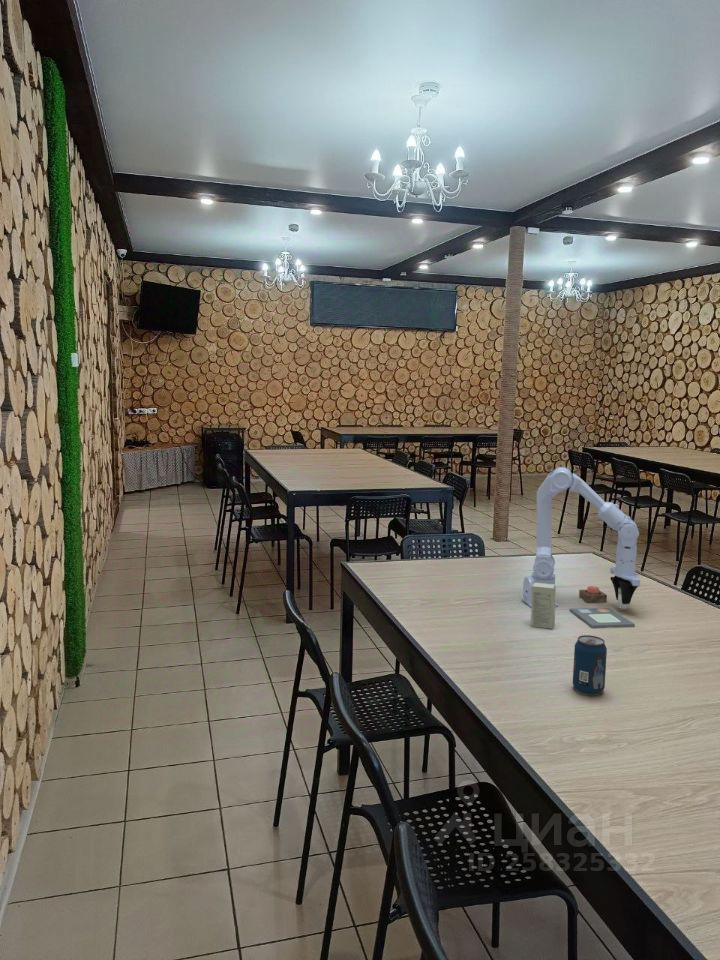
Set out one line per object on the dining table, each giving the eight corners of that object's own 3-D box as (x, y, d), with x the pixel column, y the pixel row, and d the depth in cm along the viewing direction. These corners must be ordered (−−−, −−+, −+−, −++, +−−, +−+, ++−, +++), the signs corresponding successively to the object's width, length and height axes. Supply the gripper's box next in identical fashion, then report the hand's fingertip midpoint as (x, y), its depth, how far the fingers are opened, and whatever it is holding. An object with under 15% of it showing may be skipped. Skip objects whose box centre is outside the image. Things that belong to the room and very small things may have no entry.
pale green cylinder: (620, 609, 207) (621, 590, 206) (615, 605, 210) (616, 587, 209) (630, 608, 208) (631, 590, 207) (624, 605, 211) (626, 587, 210)
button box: (587, 603, 217) (588, 595, 217) (579, 597, 223) (579, 589, 223) (606, 602, 218) (607, 595, 217) (597, 596, 224) (597, 589, 224)
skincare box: (554, 625, 196) (557, 584, 195) (552, 629, 192) (554, 588, 191) (532, 621, 199) (534, 581, 197) (529, 626, 195) (531, 585, 193)
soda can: (579, 680, 158) (581, 632, 157) (608, 689, 154) (611, 639, 152) (567, 690, 153) (570, 640, 152) (597, 699, 149) (600, 647, 147)
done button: (590, 598, 218) (590, 589, 218) (585, 595, 222) (585, 586, 221) (600, 598, 219) (601, 589, 218) (595, 594, 222) (595, 586, 222)
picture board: (592, 628, 194) (592, 625, 194) (569, 611, 209) (570, 608, 208) (634, 626, 195) (634, 623, 195) (609, 610, 210) (609, 607, 210)
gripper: (650, 565, 200) (647, 609, 202) (626, 553, 214) (623, 594, 216) (628, 565, 199) (625, 609, 201) (605, 553, 214) (602, 595, 215)
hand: (622, 601), depth 209 cm, fingers closed on pale green cylinder, 3 cm apart
